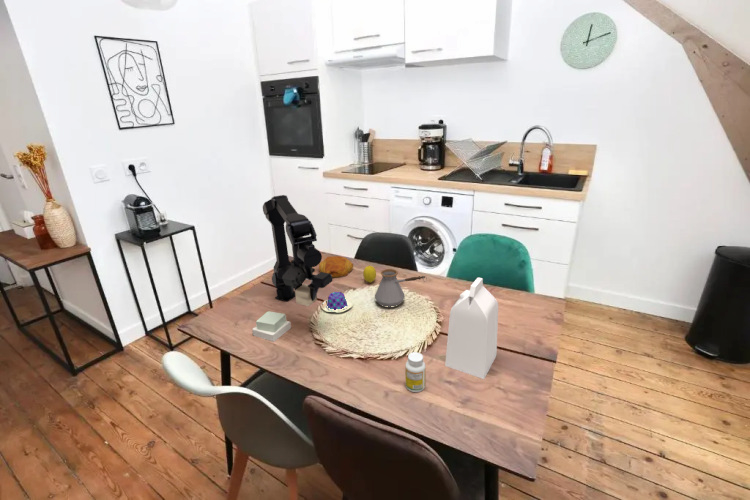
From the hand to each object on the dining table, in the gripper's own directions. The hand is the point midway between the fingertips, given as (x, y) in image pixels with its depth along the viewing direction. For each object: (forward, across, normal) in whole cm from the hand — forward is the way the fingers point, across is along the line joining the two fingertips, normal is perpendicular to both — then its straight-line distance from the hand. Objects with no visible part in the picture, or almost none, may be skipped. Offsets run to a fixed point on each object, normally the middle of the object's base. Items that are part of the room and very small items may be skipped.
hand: (306, 298), depth 130 cm
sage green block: (+8, -10, -8) cm, 15 cm away
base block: (+11, -10, -8) cm, 17 cm away
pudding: (+11, +2, +16) cm, 20 cm away
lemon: (+11, +4, +39) cm, 40 cm away
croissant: (+12, -16, +42) cm, 46 cm away
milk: (+11, +55, +4) cm, 57 cm away
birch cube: (+1, 0, 0) cm, 1 cm away
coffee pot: (+11, +24, +25) cm, 36 cm away
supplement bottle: (+11, +44, -13) cm, 47 cm away
